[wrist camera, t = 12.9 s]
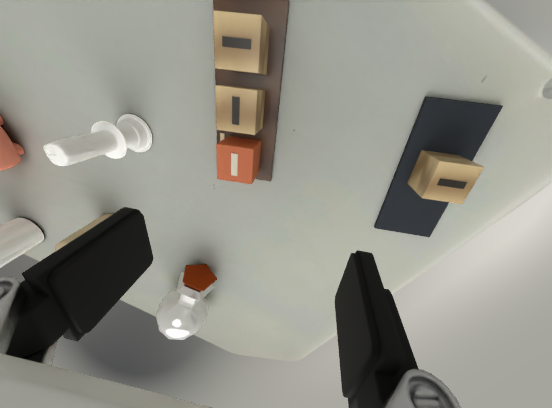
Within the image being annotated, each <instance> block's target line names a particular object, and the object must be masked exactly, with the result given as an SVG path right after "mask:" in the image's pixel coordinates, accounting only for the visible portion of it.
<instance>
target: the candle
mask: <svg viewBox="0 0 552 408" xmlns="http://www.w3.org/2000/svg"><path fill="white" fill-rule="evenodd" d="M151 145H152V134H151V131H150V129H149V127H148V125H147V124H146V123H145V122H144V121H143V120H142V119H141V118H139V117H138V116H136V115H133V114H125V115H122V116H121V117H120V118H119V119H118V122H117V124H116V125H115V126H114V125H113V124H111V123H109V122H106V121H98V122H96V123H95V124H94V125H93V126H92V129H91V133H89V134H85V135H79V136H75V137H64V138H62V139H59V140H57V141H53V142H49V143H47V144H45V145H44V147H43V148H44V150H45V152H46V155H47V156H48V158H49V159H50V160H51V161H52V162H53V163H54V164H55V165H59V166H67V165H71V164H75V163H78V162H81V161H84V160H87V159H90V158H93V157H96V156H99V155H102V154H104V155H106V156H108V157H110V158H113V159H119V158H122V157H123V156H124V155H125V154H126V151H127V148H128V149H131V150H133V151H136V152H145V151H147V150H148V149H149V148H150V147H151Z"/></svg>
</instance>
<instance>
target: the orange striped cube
mask: <svg viewBox="0 0 552 408" xmlns="http://www.w3.org/2000/svg"><path fill="white" fill-rule="evenodd" d="M216 148H217V179H221V180H228V181H234V182H241V183H247V184H252V183H253V181H254V179H255V178H256V176H257V174H258V173H259V166H260V151H261V141H260V140H253V139H246V138H239V137H232V136H228V137H227V138H225V139H223V140H222V141H220V142H219V143H217V144H216Z"/></svg>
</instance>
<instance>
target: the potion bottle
mask: <svg viewBox="0 0 552 408" xmlns="http://www.w3.org/2000/svg"><path fill="white" fill-rule="evenodd" d="M216 280H217V278H216V277H215V275H214V274H213V273H212V271H211V270H210V269H209V267H208V266H207V265H206V264H203V265H186V267H185V272H181V273H180V277H179V281H178V286H177V289H174V290H171V291H170V292H169V293H168V294H167V295H166V296H165V297H164V298H163V299H162V301H161V302H160V304H159V308H158V311H157V315H156V319H157V323H158V328H159V331H160V332H162V333H163V334H164V335H165V336H166V337H167V338H168V339H177V340H184V339H186V338H188V337H190V336H191V335H193V334H195V333H197V332H198V330H199V329H200V328H201V327H202V326H203V324H204V323H205V322H206V320H207V314H208V309H209V306H208V303H207V299H206V295H207V294H208V293H209V292H210V291H211V290H212V289H214V288H215V286H214V285H213V284H212V283H213V282H214V281H216Z"/></svg>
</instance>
